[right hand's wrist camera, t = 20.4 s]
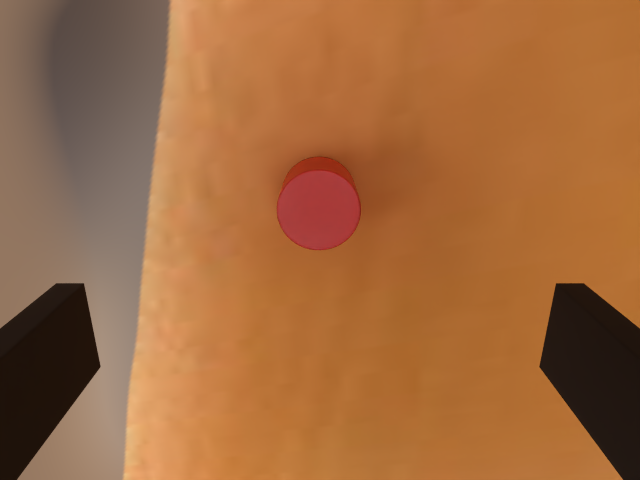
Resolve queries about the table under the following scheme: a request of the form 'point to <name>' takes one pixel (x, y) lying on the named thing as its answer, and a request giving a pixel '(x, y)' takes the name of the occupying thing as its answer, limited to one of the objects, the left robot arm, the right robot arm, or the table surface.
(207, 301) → the table surface
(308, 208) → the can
